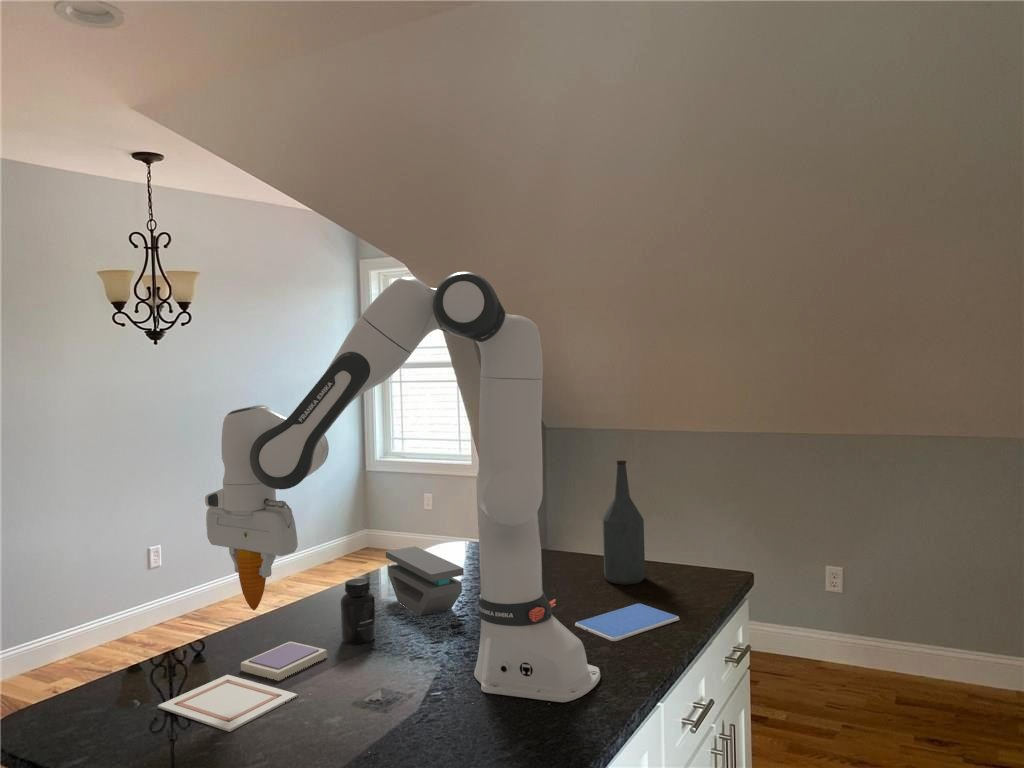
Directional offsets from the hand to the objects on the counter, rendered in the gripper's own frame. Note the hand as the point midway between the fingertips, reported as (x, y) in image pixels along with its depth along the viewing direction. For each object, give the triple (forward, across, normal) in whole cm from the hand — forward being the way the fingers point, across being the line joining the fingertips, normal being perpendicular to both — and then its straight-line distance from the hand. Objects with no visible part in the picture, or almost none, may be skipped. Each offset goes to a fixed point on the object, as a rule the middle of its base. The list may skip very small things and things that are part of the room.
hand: (253, 574), depth 138 cm
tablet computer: (+20, -46, -58) cm, 77 cm away
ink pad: (+19, +2, -8) cm, 21 cm away
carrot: (+7, 0, 0) cm, 7 cm away
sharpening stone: (+20, -1, -47) cm, 51 cm away
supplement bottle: (+20, -2, -24) cm, 31 cm away
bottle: (+19, -33, -86) cm, 95 cm away
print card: (+19, -2, +8) cm, 21 cm away
